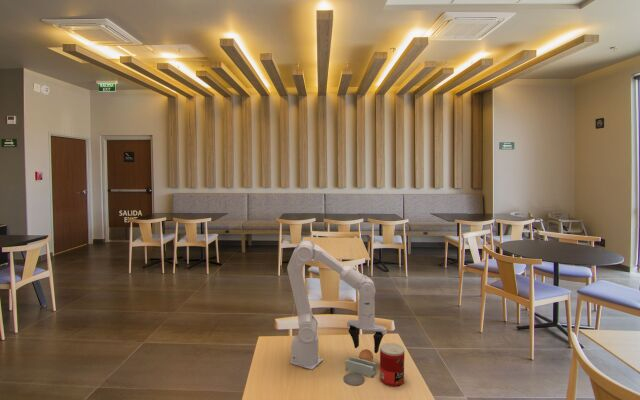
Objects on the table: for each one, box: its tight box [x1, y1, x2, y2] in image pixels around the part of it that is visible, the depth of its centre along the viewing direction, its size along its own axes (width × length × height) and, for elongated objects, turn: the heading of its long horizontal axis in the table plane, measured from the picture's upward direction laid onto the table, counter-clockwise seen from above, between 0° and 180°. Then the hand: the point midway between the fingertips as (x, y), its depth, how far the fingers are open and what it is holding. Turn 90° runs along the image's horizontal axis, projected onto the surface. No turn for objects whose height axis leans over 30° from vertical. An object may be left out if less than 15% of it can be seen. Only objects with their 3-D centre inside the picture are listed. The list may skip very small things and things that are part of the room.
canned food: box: [379, 342, 405, 387], centre depth 125 cm, size 8×8×11 cm
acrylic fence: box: [345, 355, 377, 378], centre depth 130 cm, size 10×3×4 cm, turn 60°
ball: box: [358, 349, 374, 362], centre depth 135 cm, size 5×5×5 cm
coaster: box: [343, 372, 366, 387], centre depth 125 cm, size 7×7×1 cm
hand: (366, 349), depth 135 cm, fingers open, 7 cm apart
